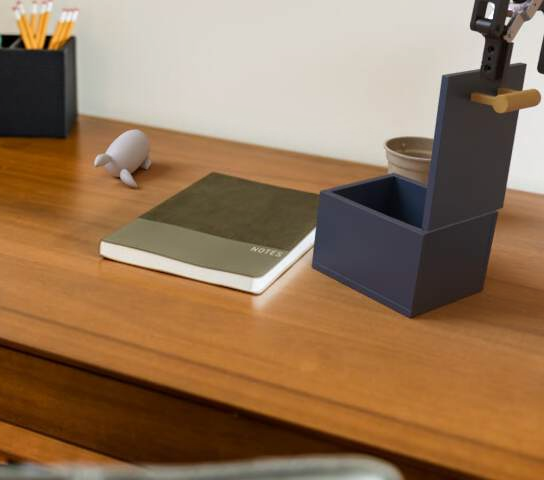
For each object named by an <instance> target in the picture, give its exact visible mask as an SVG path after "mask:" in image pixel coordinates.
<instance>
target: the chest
mask: <svg viewBox="0 0 544 480" xmlns="http://www.w3.org/2000/svg"><path fill="white" fill-rule="evenodd" d="M427 186H428V185H426V184H423V183H421V182H418V181H415V180H412V179H410V178H407V177H404V176H402V175H399V174H396V173H391V174H388V173H386V174H383V175H379V176H375V177H370V178H367V179H363V180H357V181H355V182H351V183H347V184H342V185H339V186H335V187H330V188H327V189H321V190H319V197H318V205H317V215H316V223H315V231H314V232H315V233H314V241H313V250H312V259H311V268H312V269H314V270H316V271H317V272H319V273H322V274H323V275H325V276H327V277H329V278H331V279H333V280H335V281H337V282H339V283H341V284H343V285H345V286H347V287H349V288H351V289H352V290H354V291H356V292H358V293H360V294H363V295H364V296H366V297H368V298H371V299H372V300H374V301H376V302H378V303H379V304H382V305H383V306H385V307H387V308H389V309H391V310H393V311H395V312H397V313H399V314H401V315H403V316H405V317H406V318H408V319H412V318H415V317H417V316H420V315H422V314H426V313H427V312H431V311H433V310H435V309H438V308H441V307H443V306H446V305H448V304H451V303H453V302H456V301H459V300H461V299H464V298H466V297H469V296H472V295H474V294H477V293H479V292H482V291H484V288H485V282H486V277H487V272H488V266H489V262H490V257H491V252H492V248H493V247H492V246H493V242H494V236H495V231H496V228H497V227H496V226H497V223H498V216H499V211H498V210H496V211H492V212H489V213H486V214H483V215H480V216H476V217H473V218H470V219H467V220H463V221H460V222H457V223H454V224H451V225H447V226H444V227H441V228H438V229H435V230H431V231H426V230H423V229H422V223H423V216H424V208H425V201H426V193H427ZM396 219H397V220H396ZM408 224H409V225H408ZM413 226H414V227H413ZM415 227H416V228H415ZM418 228H419V229H418ZM420 229H421V230H420Z"/></svg>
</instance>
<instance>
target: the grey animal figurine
mask: <svg viewBox="0 0 544 480" xmlns="http://www.w3.org/2000/svg"><path fill="white" fill-rule="evenodd" d="M150 151H151V141H150V139H149V137H148V136H147V134H146V133H144V132H143V131H141V130H139V129H130V130H126V131H124V132H123V133H122V134H120V135H119V136H118V137H117V138H116V139H115V140H114V141H112V143H110V145H109V147H108V148H107V149H106V151H105V153H101V154H98V155H96V157H95V158H94V161H93V162H94V164H93V165H94V167H95V168H101V167H104V168H105V170H106V171H107V172H108V173H109V174H111V176H113V177H115V178H120V180H121V181H122V182H123V183H124V184H126V185H127V186H130V187H132V188H137V187H138V185H137V182H136V181H135V179H134V178H133V175H132V174H133V173H134V172H135V171H136V170H137V169H138V168H141V169H144V170H146V171H147V170H148V169H149V168H150V167H151V166H152V160H151V157H150Z"/></svg>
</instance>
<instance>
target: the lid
mask: <svg viewBox="0 0 544 480" xmlns="http://www.w3.org/2000/svg"><path fill="white" fill-rule="evenodd" d="M527 65H528V64H527V63H524V62H515V63H510V66H509V71H508V77H507V81H506V84H505V85H503V86H498V87H496V86H492V85H488V84H484V83H482V82H481V81H480V68H478V69H477V68H476V69H471V70H470V69H469V70H464V71H458V72H452V73H445V74H442V75H441V80H440V87H439V88H440V89H439V96H438V102H437V111H436V118H435V125H434V133H433V138H434V140H433V148H432V155H431V163H430V170H429V178H428V186H427V193H426V201H425V208H424V216H423V223H422V229H423V230H426V231H431V230H435V229H438V228H441V227H444V226H447V225H451V224H454V223H457V222H460V221H463V220H467V219H470V218H473V217H476V216H480V215H483V214H486V213H489V212H492V211H498V210H499V211H500V210H503V208H504V203H505V200H506V199H505V198H506V192H507V186H508V180H509V174H510V168H511V162H512V156H513V151H514V144H515V138H516V133H517V126H518V119H519V113H520V110H524V109H529V108H534V107H537V106H538V105H539V104H540V103H541V101H542V94H541V92H540V91H539V90H538V89H536V88H529V89H524V84H525V78H526V72H527Z"/></svg>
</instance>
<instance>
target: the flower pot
mask: <svg viewBox="0 0 544 480" xmlns="http://www.w3.org/2000/svg"><path fill="white" fill-rule="evenodd" d="M433 140H434V137H429V136H419V135H418V136H417V135H402V136H401V135H400V136H394V137H390V138H388V139H385V140H384V141H383V149H384V150H385V158H386V160H387V174H391V173H396V174H399V175H402V176H404V177H407V178H410V179H412V180H415V181H418V182H421V183H423V184H426V185H428V178H429V170H430V163H431V155H432V148H433Z"/></svg>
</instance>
